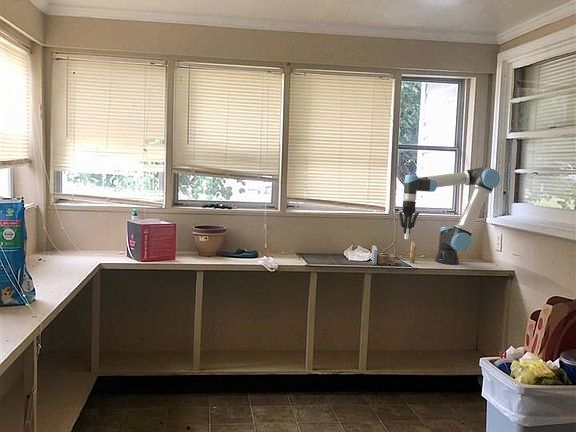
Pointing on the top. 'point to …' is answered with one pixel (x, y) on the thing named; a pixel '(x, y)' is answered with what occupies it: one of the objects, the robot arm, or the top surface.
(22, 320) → the top surface
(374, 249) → the backstop
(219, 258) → the top surface
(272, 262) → the top surface
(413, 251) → the dowel
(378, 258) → the block
